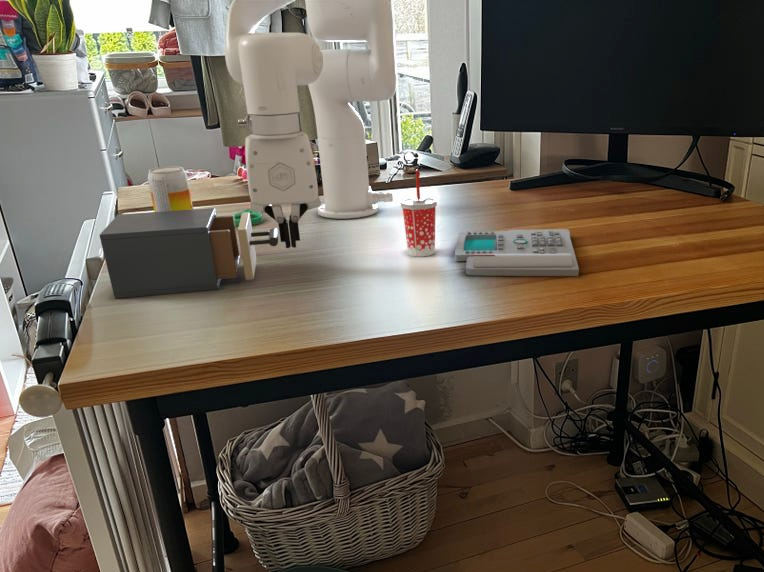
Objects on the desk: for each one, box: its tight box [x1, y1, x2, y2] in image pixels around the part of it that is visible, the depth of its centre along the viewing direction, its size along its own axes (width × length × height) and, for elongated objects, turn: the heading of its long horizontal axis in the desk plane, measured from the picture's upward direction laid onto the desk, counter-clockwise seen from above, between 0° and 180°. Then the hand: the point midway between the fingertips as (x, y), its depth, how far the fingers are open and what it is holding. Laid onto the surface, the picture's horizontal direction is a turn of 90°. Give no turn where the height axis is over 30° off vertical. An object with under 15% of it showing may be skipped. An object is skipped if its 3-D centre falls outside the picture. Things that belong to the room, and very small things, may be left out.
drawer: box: [209, 212, 279, 281], centre depth 114 cm, size 18×11×8 cm, turn 104°
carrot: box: [232, 205, 263, 227], centre depth 151 cm, size 15×6×2 cm, turn 7°
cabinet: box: [99, 207, 222, 299], centre depth 112 cm, size 15×13×10 cm
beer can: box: [147, 165, 194, 212], centre depth 122 cm, size 6×6×15 cm
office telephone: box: [454, 228, 580, 277], centre depth 123 cm, size 23×3×20 cm
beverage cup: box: [399, 169, 438, 258], centre depth 123 cm, size 6×6×14 cm
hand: (291, 245), depth 116 cm, fingers closed
